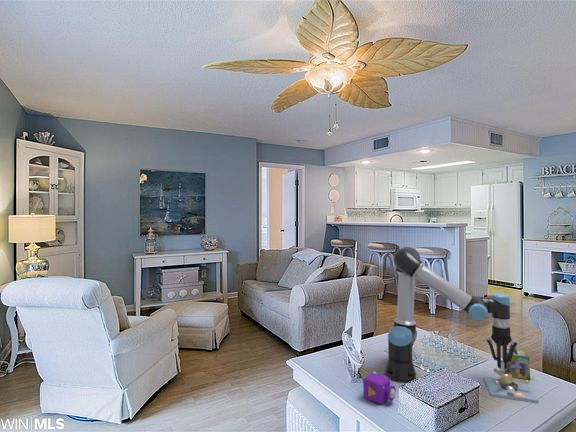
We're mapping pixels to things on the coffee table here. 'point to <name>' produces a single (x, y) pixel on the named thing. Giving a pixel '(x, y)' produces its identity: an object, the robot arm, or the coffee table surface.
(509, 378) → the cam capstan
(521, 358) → the chalk box
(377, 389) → the toy camera
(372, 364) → the coffee table surface
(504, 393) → the board
